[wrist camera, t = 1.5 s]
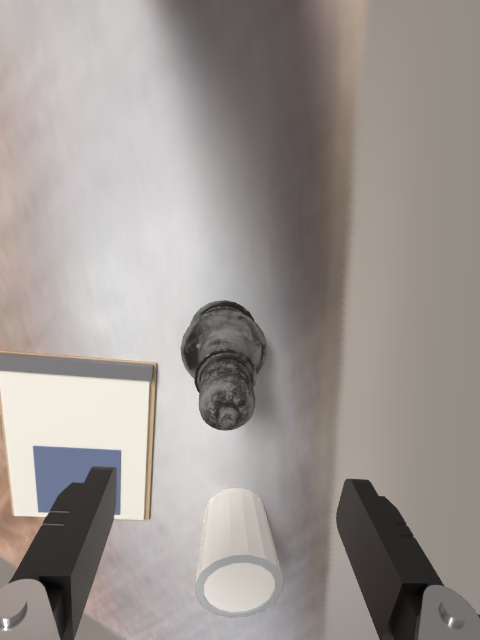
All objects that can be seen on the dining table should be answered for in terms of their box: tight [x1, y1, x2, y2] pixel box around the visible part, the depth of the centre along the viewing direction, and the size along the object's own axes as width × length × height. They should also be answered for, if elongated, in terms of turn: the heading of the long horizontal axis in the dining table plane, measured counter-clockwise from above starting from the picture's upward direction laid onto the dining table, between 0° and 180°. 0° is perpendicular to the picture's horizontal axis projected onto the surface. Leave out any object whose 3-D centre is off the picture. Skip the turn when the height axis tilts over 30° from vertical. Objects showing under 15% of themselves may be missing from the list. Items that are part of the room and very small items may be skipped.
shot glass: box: [195, 488, 283, 618], centre depth 29 cm, size 7×7×7 cm
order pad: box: [0, 351, 157, 520], centre depth 28 cm, size 16×12×1 cm
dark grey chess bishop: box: [181, 301, 266, 430], centre depth 21 cm, size 6×6×12 cm
